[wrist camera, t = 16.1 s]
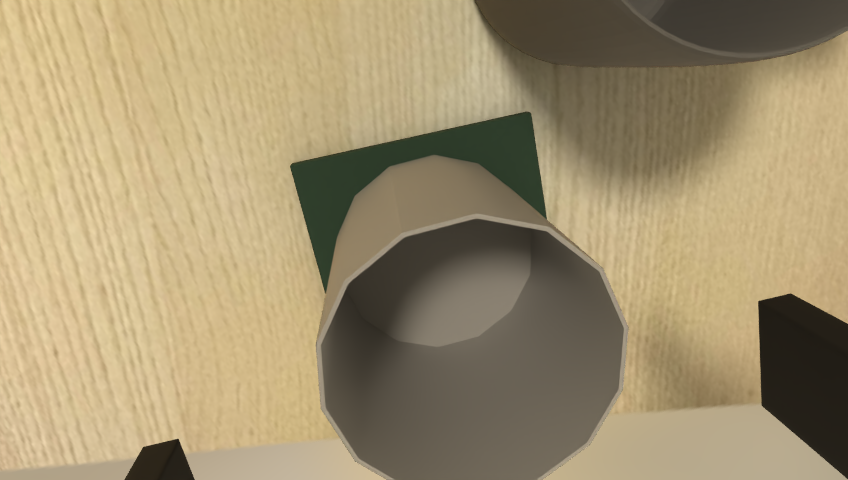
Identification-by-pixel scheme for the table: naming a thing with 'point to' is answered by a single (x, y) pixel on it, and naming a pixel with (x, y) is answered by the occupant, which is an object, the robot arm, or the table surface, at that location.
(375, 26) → the table surface
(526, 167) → the coaster mat
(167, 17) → the table surface
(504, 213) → the cup
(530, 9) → the mug
